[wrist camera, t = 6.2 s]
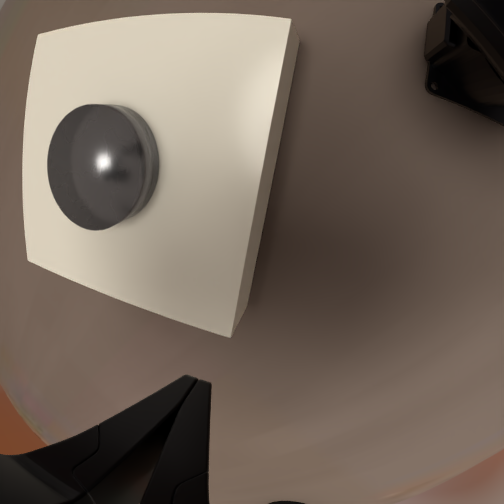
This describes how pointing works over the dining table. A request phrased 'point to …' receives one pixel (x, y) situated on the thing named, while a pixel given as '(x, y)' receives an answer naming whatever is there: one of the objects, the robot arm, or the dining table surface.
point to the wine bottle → (286, 502)
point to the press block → (167, 155)
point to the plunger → (102, 165)
